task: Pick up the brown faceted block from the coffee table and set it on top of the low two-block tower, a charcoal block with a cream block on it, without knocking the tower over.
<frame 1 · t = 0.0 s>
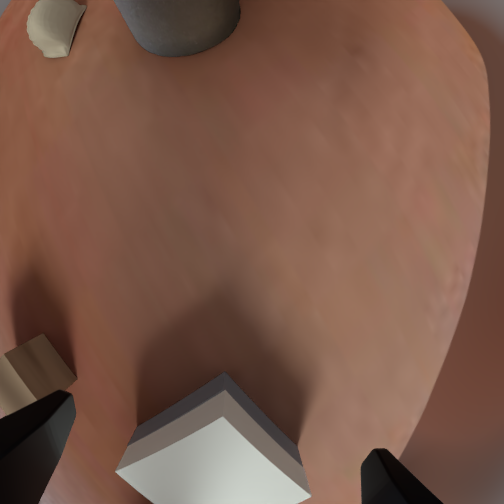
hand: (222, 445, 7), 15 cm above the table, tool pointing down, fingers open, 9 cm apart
tower top block: (215, 462, 20), point 3 cm above the table, touching tower base block
decorative ornament: (65, 29, 21), on the table
pillar candle: (184, 17, 22), on the table
tower base block: (217, 438, 24), on the table, touching tower top block
brown faceted block: (46, 368, 23), on the table
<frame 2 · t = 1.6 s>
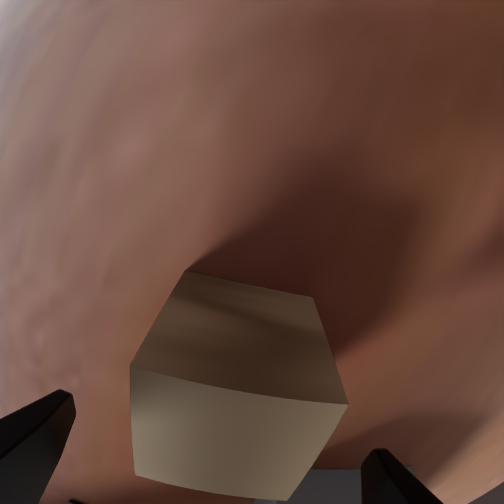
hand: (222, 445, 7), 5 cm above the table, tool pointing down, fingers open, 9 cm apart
tower base block: (320, 498, 18), on the table, touching tower top block
brown faceted block: (236, 338, 13), on the table
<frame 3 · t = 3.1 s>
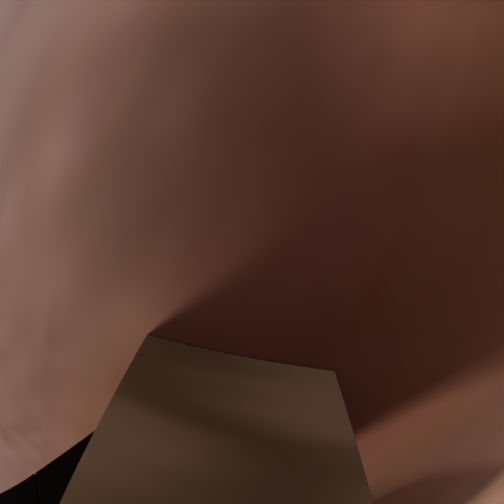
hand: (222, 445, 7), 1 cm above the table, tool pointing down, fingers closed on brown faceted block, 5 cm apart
brown faceted block: (225, 419, 9), on the table, touching gripper
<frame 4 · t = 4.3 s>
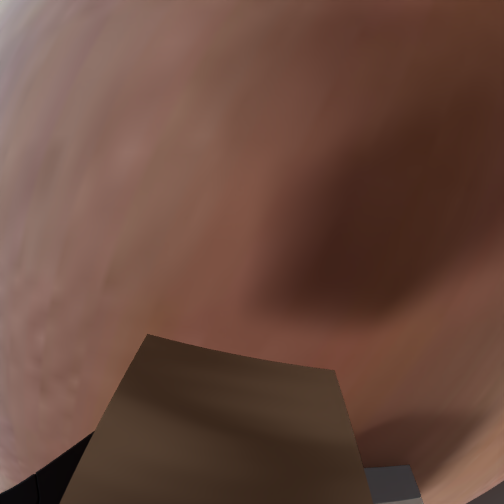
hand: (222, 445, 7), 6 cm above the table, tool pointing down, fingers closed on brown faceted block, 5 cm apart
tower base block: (319, 496, 18), on the table, touching tower top block
brown faceted block: (225, 418, 9), point 5 cm above the table, touching gripper
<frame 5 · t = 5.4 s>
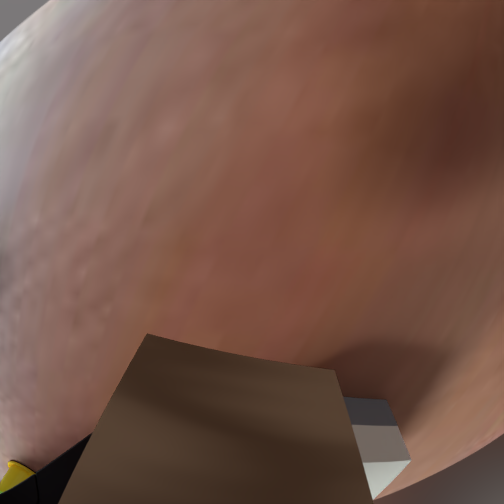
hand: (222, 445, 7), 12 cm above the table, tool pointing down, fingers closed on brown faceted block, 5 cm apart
stacking cups: (34, 479, 31), on the table
tower top block: (312, 462, 20), point 3 cm above the table
tower base block: (308, 431, 23), on the table
brown faceted block: (225, 418, 8), point 11 cm above the table, touching gripper
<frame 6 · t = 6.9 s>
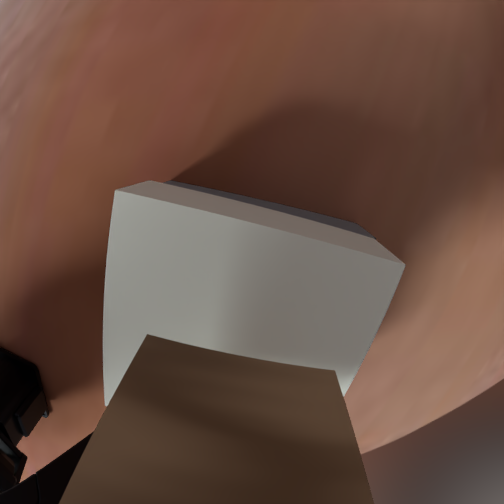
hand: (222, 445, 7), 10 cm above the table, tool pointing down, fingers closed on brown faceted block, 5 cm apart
tower top block: (236, 312, 15), point 3 cm above the table, touching tower base block
tower base block: (244, 285, 18), on the table, touching tower top block
brown faceted block: (225, 419, 8), point 9 cm above the table, touching gripper
when the fingers open (9 cm above the table, at t = 7.8 s): brown faceted block drops 2 cm, resting on tower top block.
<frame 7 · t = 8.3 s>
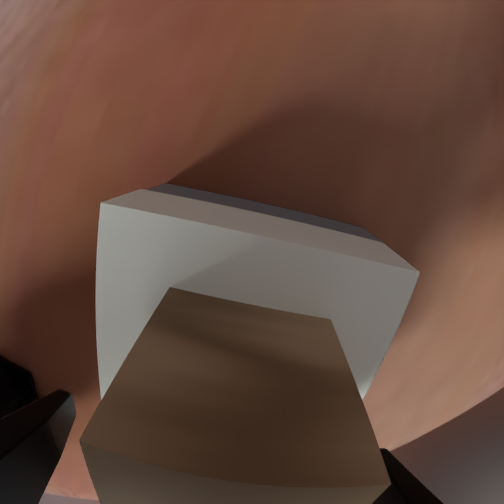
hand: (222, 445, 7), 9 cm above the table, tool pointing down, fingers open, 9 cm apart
tower top block: (238, 326, 14), point 3 cm above the table, touching tower base block, brown faceted block
tower base block: (244, 294, 17), on the table, touching tower top block
brown faceted block: (235, 368, 10), point 7 cm above the table, touching tower top block
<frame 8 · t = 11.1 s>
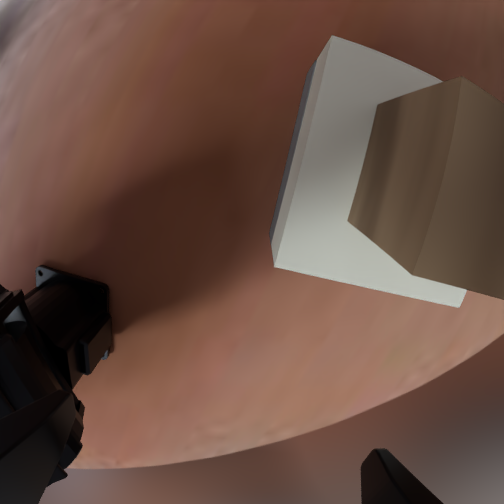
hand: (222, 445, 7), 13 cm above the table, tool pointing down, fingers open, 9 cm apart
tower top block: (386, 176, 15), point 3 cm above the table, touching tower base block, brown faceted block
tower base block: (364, 173, 19), on the table, touching tower top block
brown faceted block: (415, 180, 12), point 6 cm above the table, touching tower top block
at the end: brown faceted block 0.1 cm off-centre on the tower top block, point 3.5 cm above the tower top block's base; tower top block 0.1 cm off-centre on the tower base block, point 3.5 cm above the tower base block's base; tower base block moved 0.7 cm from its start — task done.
